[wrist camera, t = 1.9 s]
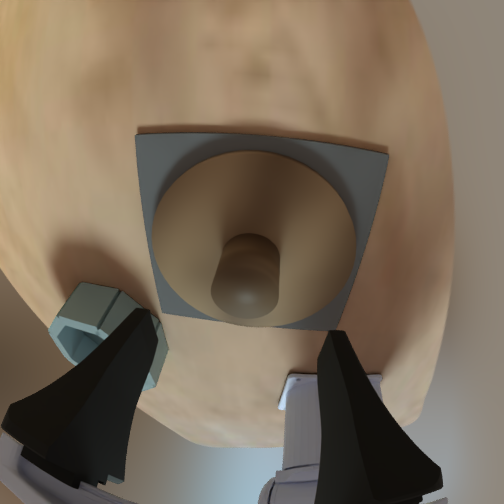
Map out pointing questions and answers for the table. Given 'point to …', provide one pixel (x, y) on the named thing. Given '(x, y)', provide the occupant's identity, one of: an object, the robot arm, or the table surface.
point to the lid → (254, 239)
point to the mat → (306, 151)
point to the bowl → (99, 325)
